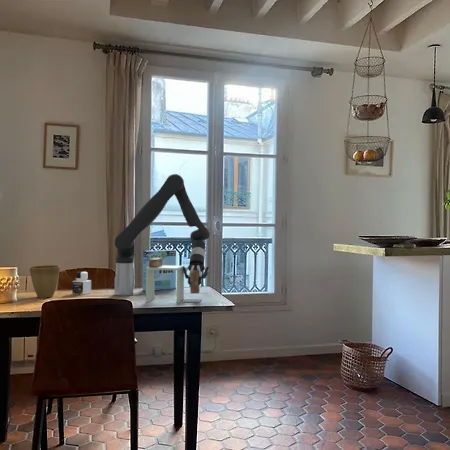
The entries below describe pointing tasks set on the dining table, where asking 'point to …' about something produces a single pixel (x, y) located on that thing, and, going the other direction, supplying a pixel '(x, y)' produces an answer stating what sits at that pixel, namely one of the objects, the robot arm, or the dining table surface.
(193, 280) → the block
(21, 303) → the dining table surface
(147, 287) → the shelf
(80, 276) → the medicine bottle
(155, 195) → the robot arm
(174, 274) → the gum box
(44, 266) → the plant pot
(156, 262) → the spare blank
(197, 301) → the mat
